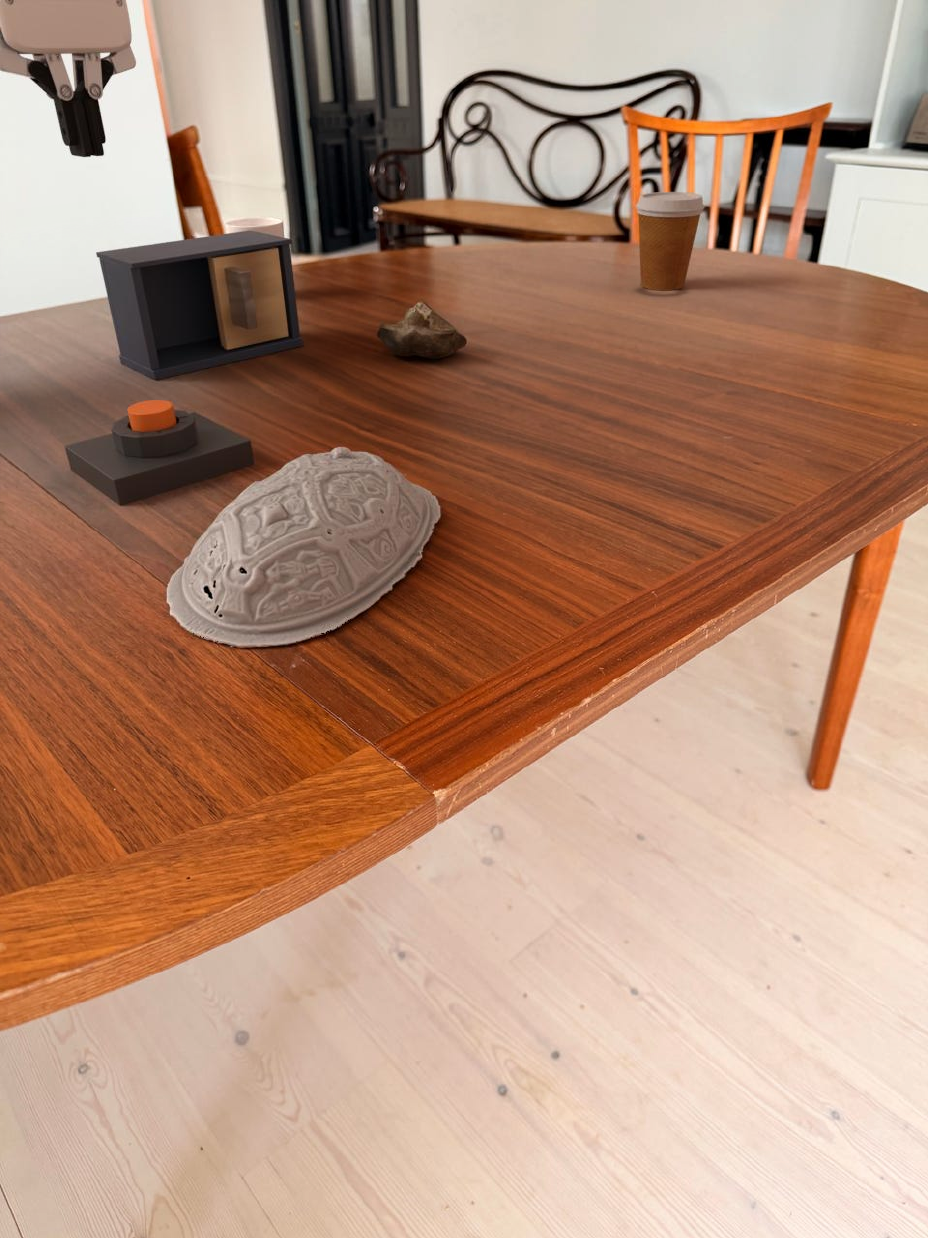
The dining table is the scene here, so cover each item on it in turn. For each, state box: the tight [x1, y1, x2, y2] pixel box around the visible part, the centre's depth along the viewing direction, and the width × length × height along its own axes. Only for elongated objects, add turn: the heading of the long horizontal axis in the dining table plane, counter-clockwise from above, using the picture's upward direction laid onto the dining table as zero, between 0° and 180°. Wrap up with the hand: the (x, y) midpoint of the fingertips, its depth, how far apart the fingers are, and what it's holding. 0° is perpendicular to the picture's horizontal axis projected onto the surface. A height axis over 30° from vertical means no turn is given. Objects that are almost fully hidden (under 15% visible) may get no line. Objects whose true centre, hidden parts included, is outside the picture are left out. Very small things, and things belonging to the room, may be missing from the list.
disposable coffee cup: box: [635, 191, 706, 291], centre depth 129 cm, size 10×10×12 cm
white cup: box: [225, 217, 285, 238], centre depth 128 cm, size 8×8×10 cm
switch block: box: [64, 409, 255, 507], centre depth 76 cm, size 12×10×4 cm
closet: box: [95, 230, 304, 381], centre depth 103 cm, size 19×9×12 cm, turn 132°
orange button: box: [127, 399, 177, 432], centre depth 74 cm, size 4×4×2 cm
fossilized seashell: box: [376, 300, 468, 360], centre depth 103 cm, size 8×7×10 cm
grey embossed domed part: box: [166, 446, 442, 649], centre depth 62 cm, size 16×25×7 cm, turn 159°
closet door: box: [210, 247, 289, 350], centre depth 101 cm, size 8×4×10 cm, turn 132°
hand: (87, 154), depth 74 cm, fingers closed
